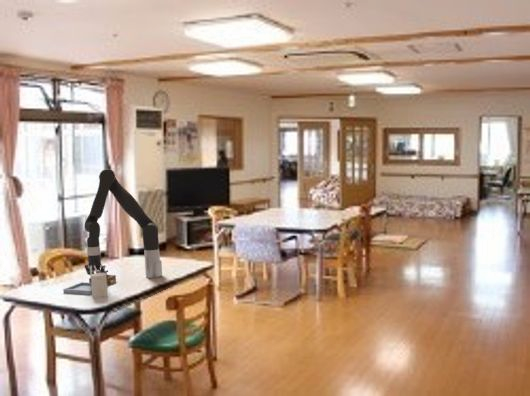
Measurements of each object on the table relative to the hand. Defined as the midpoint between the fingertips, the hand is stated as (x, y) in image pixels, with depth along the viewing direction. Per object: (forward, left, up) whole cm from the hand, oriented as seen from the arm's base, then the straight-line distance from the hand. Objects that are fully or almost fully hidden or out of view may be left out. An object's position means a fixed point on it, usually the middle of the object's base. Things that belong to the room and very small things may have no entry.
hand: (96, 281), depth 356 cm
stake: (-7, 0, -1) cm, 7 cm away
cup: (-21, +24, -1) cm, 32 cm away
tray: (-5, +16, -1) cm, 17 cm away
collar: (-5, 0, -1) cm, 5 cm away
